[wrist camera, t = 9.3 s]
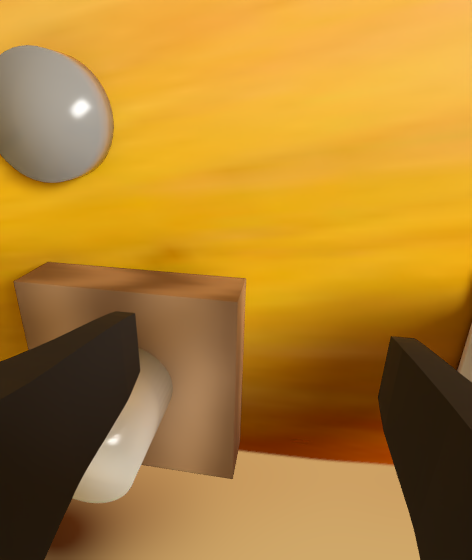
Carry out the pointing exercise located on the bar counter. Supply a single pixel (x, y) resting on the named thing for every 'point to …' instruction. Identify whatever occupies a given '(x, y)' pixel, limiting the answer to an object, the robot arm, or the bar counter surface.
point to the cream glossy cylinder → (128, 436)
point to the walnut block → (160, 347)
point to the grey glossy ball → (52, 115)
